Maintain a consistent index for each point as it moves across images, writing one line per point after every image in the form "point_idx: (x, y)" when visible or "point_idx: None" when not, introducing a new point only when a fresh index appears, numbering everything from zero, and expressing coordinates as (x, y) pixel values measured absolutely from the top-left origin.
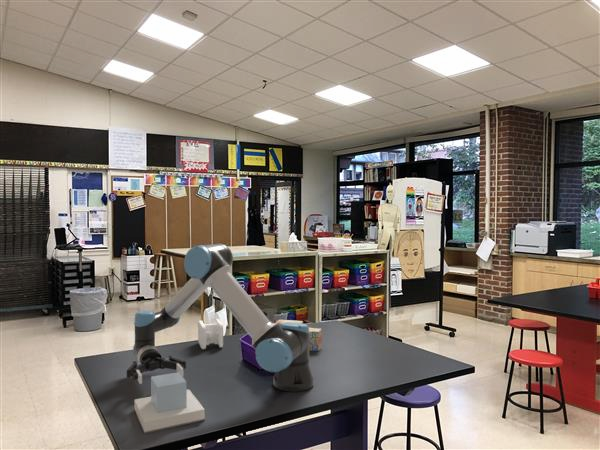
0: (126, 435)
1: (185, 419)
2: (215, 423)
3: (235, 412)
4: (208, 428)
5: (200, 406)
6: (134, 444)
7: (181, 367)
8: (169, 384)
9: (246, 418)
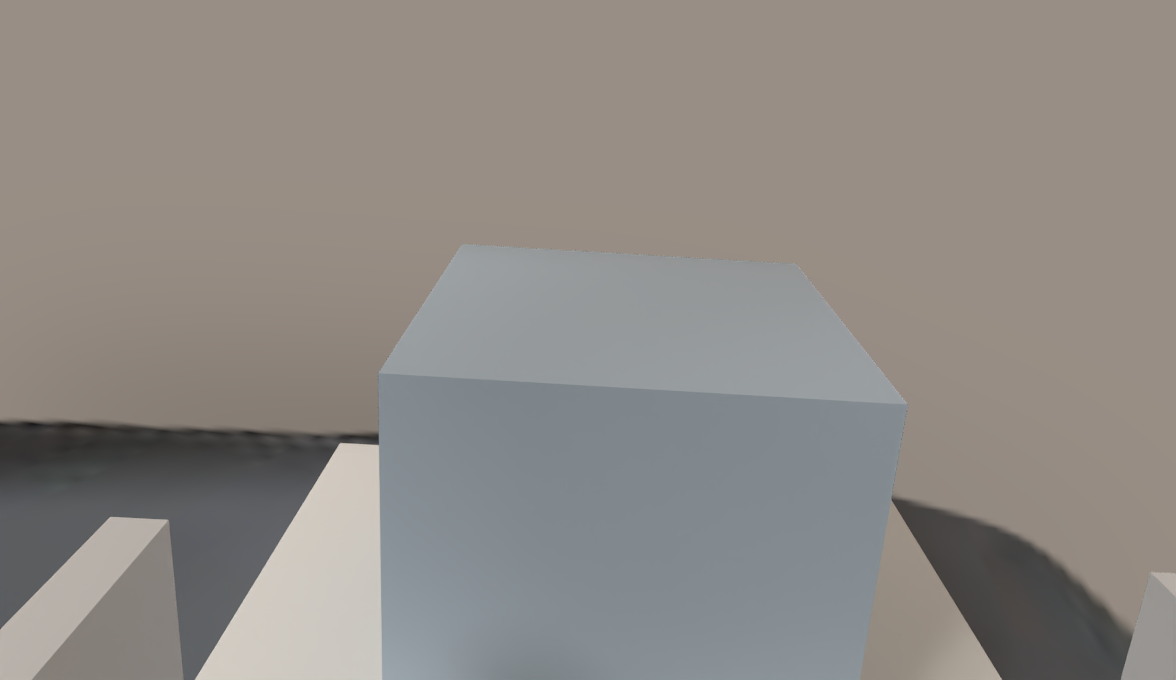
0: (1013, 596)
1: None
2: (304, 486)
3: (26, 531)
4: None
5: (336, 478)
6: (916, 502)
7: (61, 588)
8: (654, 260)
9: (69, 456)
